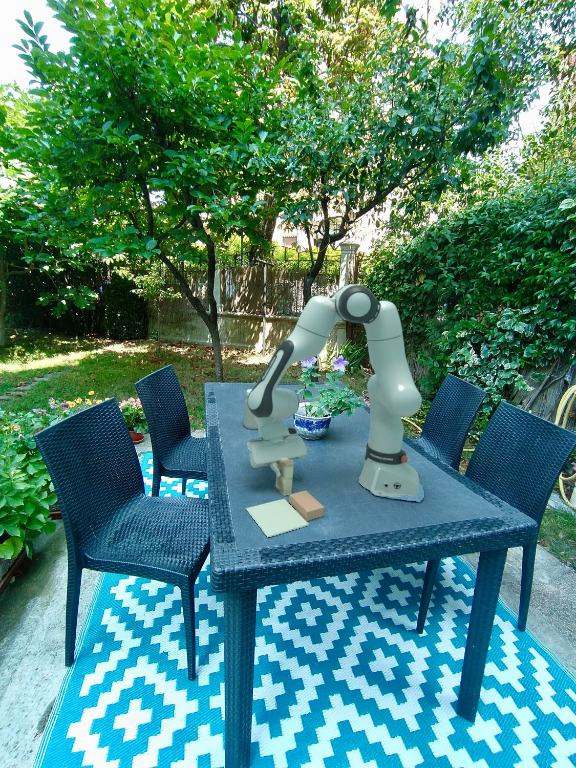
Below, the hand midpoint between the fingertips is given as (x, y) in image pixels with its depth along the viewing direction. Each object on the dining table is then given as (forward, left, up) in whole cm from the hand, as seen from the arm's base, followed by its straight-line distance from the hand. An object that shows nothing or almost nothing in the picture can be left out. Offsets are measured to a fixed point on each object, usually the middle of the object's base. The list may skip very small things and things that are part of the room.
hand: (285, 475), depth 114 cm
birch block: (0, 0, -6) cm, 6 cm away
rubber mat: (-3, +14, -6) cm, 16 cm away
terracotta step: (-9, +7, -6) cm, 13 cm away
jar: (+33, -50, -6) cm, 60 cm away
